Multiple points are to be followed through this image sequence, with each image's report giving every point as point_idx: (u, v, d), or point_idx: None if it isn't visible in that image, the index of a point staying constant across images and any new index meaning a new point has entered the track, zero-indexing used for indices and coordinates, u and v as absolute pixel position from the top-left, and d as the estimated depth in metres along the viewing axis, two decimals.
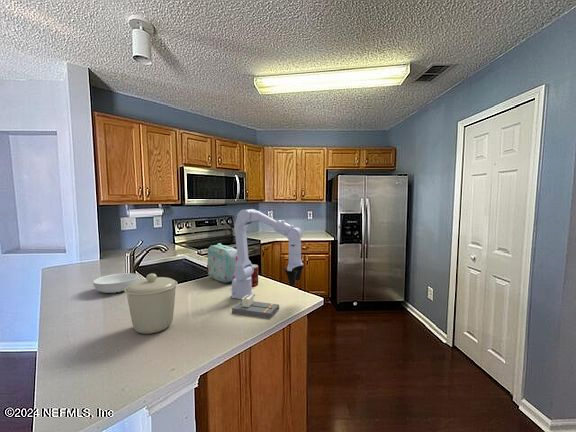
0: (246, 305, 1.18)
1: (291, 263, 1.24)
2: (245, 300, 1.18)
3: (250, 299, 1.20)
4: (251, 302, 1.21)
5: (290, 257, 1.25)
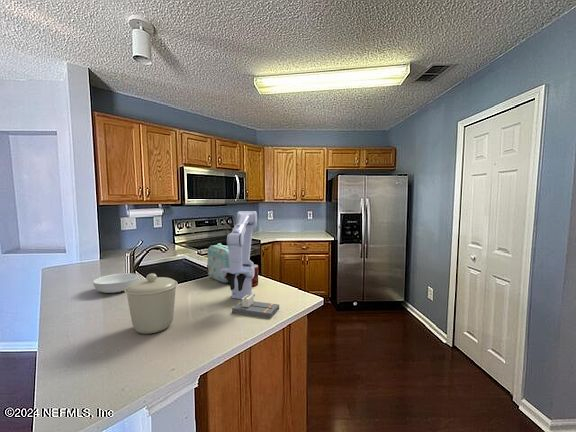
0: (246, 305, 1.18)
1: None
2: (245, 300, 1.18)
3: (250, 299, 1.20)
4: (251, 302, 1.21)
5: None
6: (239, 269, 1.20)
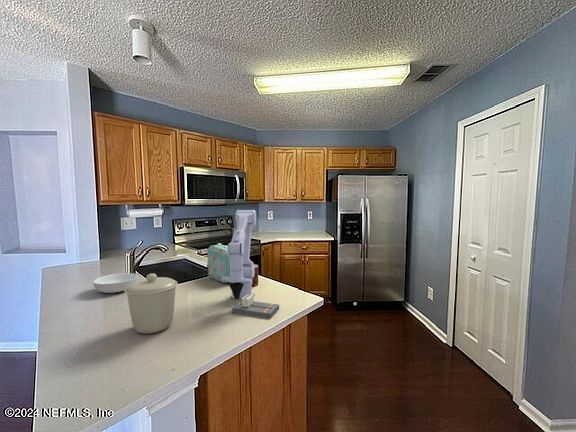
0: (246, 305, 1.18)
1: None
2: (245, 300, 1.18)
3: (250, 299, 1.20)
4: (251, 302, 1.21)
5: None
6: (240, 278, 1.20)
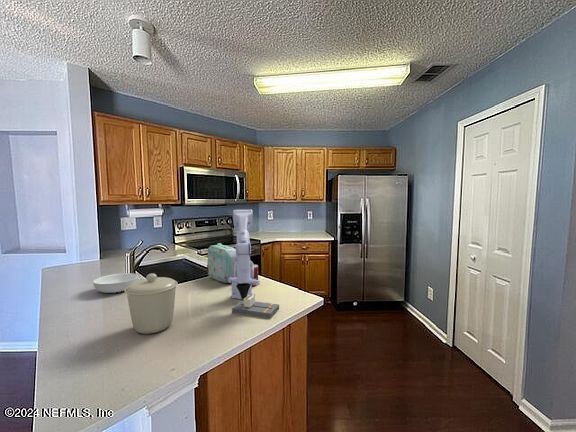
0: (248, 305, 1.18)
1: None
2: (247, 300, 1.18)
3: (252, 299, 1.20)
4: (253, 302, 1.21)
5: None
6: (247, 279, 1.19)
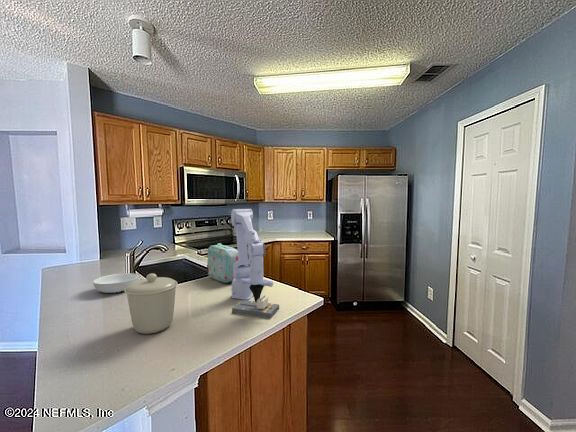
0: (261, 307, 1.16)
1: None
2: (260, 302, 1.16)
3: (265, 301, 1.18)
4: (266, 304, 1.19)
5: None
6: (260, 280, 1.17)
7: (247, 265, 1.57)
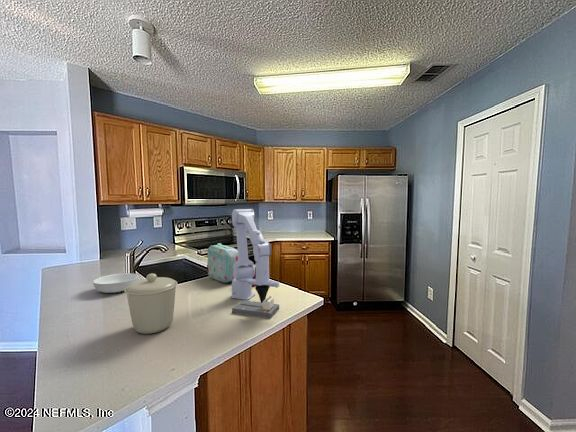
0: (267, 308, 1.15)
1: None
2: (266, 303, 1.15)
3: (271, 302, 1.17)
4: (272, 305, 1.18)
5: None
6: (266, 281, 1.16)
7: (247, 265, 1.57)
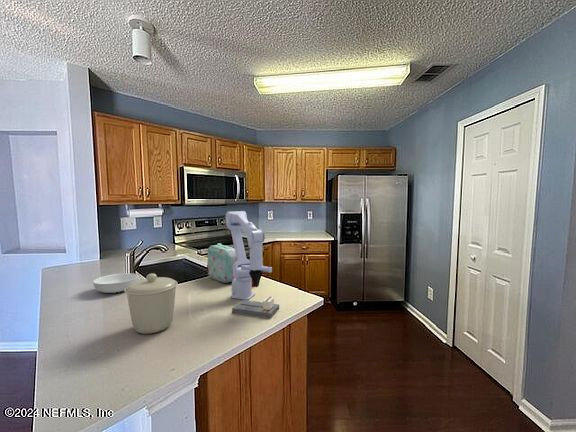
0: (267, 308, 1.15)
1: None
2: (266, 303, 1.15)
3: (271, 302, 1.17)
4: (272, 305, 1.18)
5: None
6: (260, 266, 1.21)
7: None
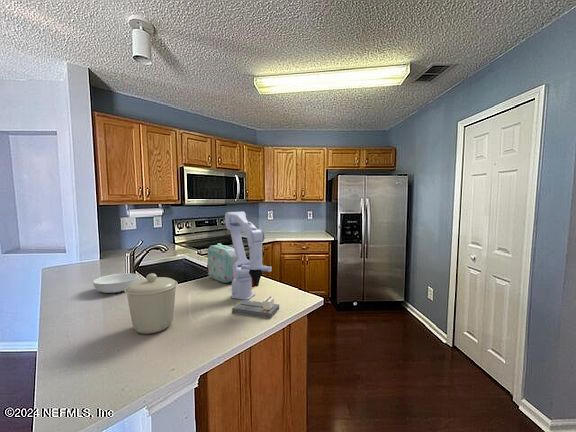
0: (267, 308, 1.15)
1: None
2: (266, 303, 1.15)
3: (271, 302, 1.17)
4: (272, 305, 1.18)
5: None
6: (259, 265, 1.22)
7: None
